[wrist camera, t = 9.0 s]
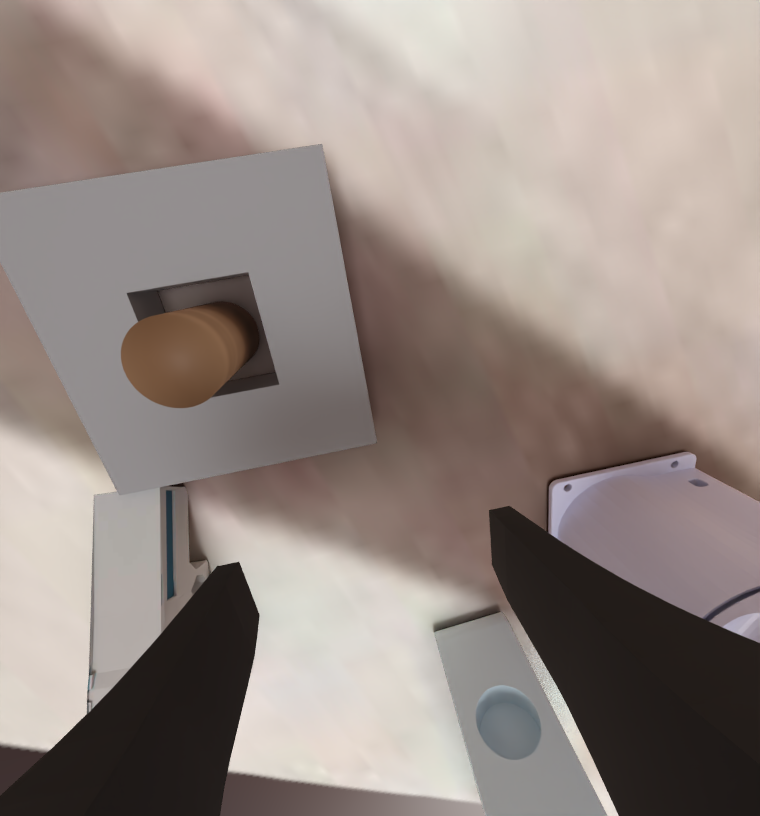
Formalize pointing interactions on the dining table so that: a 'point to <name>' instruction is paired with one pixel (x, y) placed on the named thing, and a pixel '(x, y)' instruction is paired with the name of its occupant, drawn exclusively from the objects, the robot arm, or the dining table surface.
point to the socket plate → (186, 265)
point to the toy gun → (136, 578)
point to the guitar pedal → (511, 726)
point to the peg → (188, 352)
